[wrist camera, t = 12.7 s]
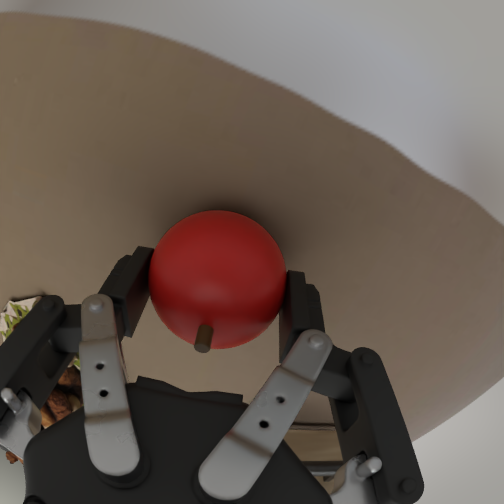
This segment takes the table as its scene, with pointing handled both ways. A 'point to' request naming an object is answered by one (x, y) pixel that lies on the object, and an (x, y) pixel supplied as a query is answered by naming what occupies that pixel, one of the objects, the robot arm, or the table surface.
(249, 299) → the apple
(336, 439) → the drawer
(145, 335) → the table surface
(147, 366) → the table surface
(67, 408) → the bear figurine
